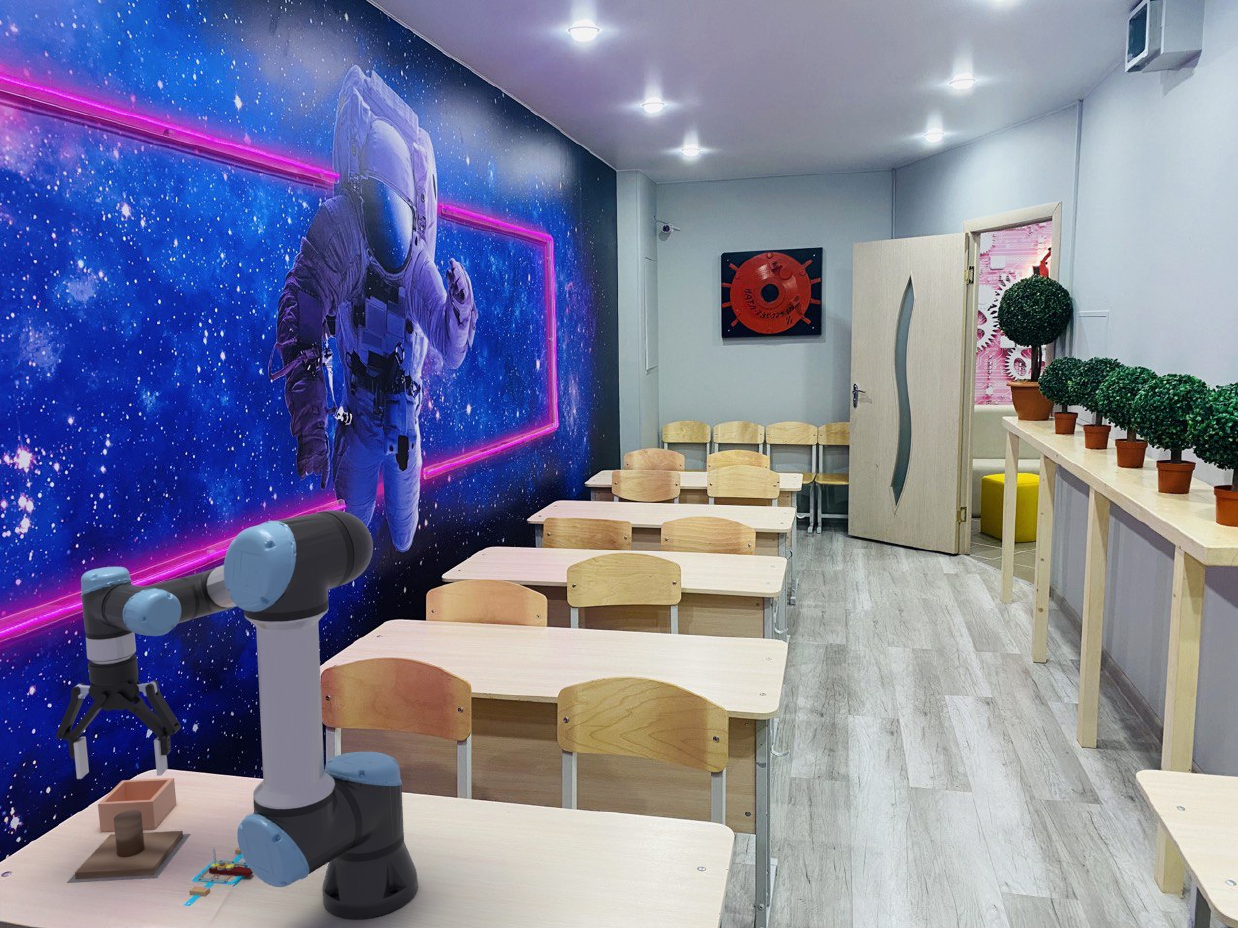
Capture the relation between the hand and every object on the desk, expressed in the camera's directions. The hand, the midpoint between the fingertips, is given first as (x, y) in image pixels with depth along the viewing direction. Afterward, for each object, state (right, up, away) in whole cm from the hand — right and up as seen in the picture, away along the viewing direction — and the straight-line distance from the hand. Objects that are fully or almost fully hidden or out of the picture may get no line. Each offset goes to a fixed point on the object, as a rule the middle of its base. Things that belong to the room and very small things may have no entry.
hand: (122, 773), depth 170 cm
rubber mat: (+1, -16, +2) cm, 16 cm away
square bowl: (-5, -14, +16) cm, 22 cm away
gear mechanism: (+20, -17, -4) cm, 26 cm away
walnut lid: (+1, -15, +2) cm, 15 cm away
